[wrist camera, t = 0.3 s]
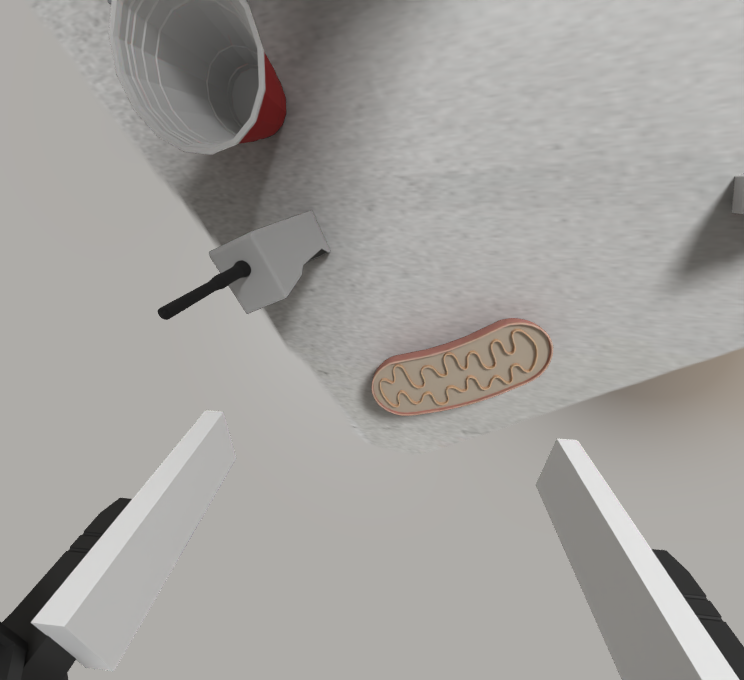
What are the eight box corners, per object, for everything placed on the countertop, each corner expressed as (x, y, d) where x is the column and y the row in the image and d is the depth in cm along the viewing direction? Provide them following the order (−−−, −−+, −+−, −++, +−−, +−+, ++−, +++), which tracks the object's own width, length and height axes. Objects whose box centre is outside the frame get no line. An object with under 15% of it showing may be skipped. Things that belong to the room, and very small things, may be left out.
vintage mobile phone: (305, 262, 38) (174, 377, 16) (284, 222, 36) (102, 292, 14) (331, 250, 37) (232, 356, 15) (312, 209, 35) (164, 261, 13)
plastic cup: (267, -3, 27) (182, -123, 16) (330, 126, 31) (296, 99, 20) (181, 74, 30) (62, 15, 19) (250, 182, 34) (183, 184, 23)
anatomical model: (529, 296, 38) (546, 311, 33) (543, 359, 42) (560, 380, 37) (363, 353, 44) (360, 373, 39) (390, 404, 48) (389, 426, 43)
